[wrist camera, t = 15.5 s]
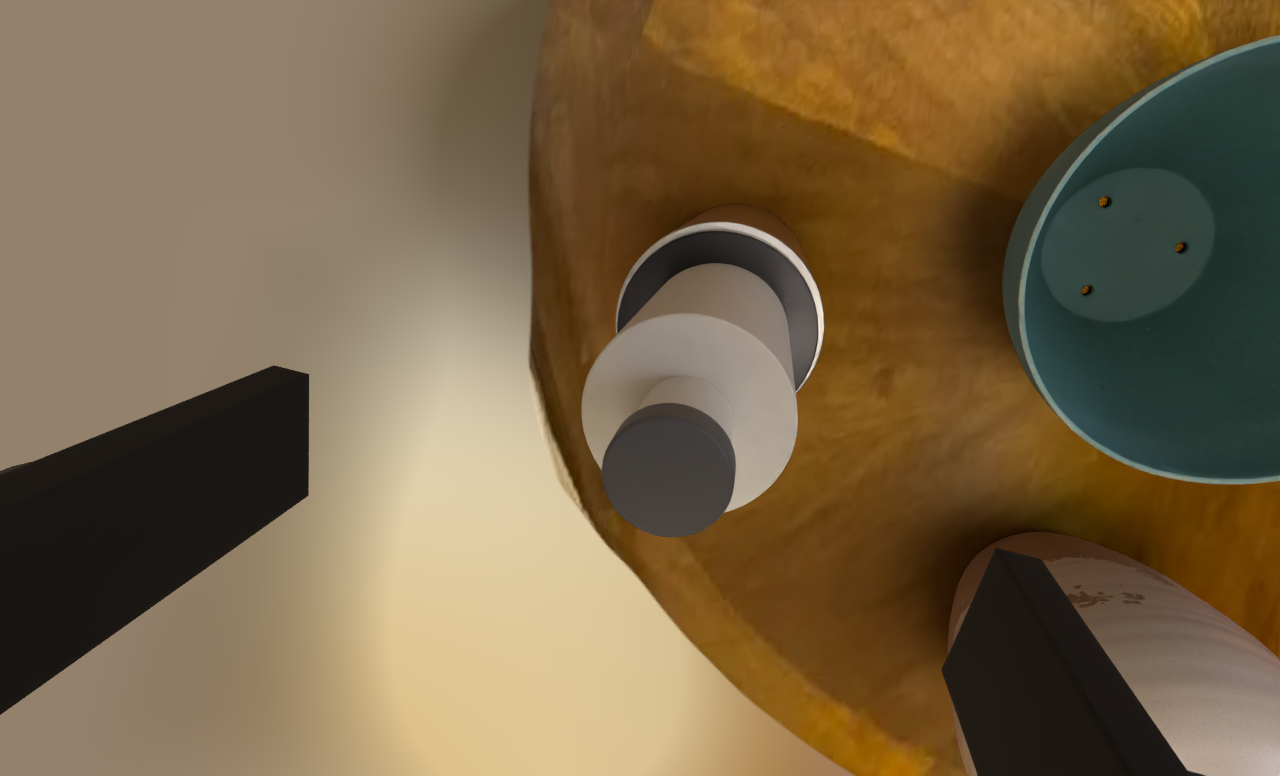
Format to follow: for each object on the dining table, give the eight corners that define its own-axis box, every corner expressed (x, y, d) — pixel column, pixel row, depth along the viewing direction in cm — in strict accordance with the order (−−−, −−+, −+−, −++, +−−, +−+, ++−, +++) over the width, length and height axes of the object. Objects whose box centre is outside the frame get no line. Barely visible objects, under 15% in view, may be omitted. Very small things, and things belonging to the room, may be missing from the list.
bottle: (616, 337, 28) (488, 476, 15) (711, 231, 26) (653, 289, 13) (718, 429, 29) (676, 638, 16) (819, 332, 26) (866, 483, 14)
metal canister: (638, 280, 44) (568, 337, 29) (731, 172, 40) (708, 174, 25) (737, 370, 44) (720, 472, 29) (837, 271, 41) (875, 329, 26)
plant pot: (1007, 438, 42) (1094, 538, 31) (902, 175, 39) (958, 177, 27) (1344, 322, 37) (1603, 391, 25) (1259, 2, 33) (1517, -87, 22)
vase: (1097, 446, 41) (1446, 741, 20) (1208, 634, 44) (1622, 1073, 22) (868, 552, 46) (952, 875, 25) (978, 714, 49) (1139, 1134, 28)
